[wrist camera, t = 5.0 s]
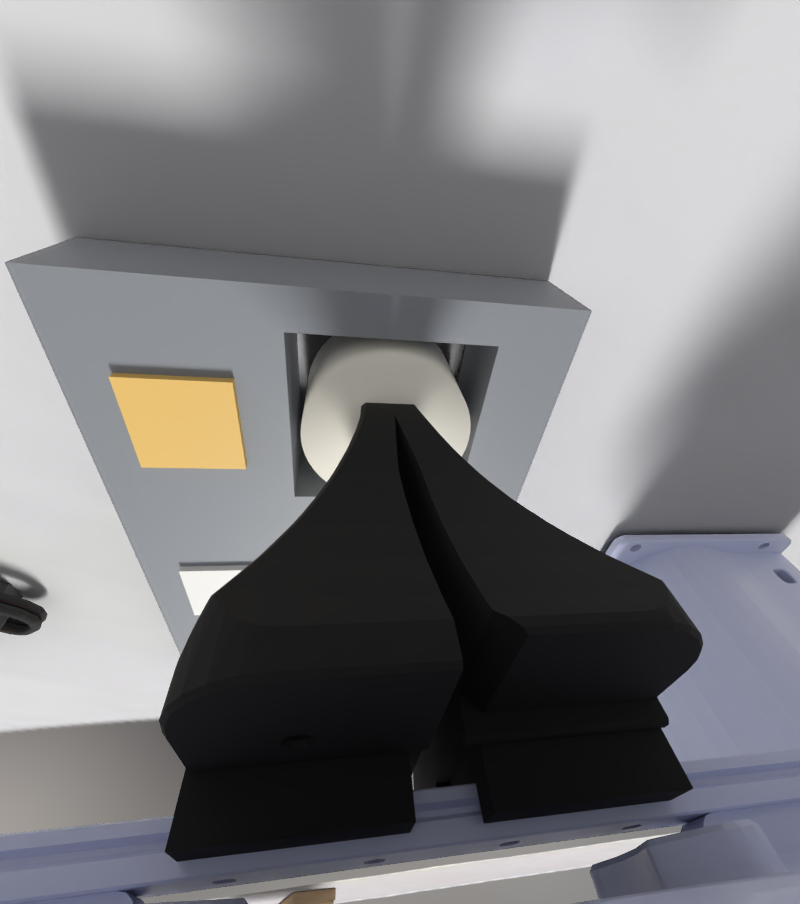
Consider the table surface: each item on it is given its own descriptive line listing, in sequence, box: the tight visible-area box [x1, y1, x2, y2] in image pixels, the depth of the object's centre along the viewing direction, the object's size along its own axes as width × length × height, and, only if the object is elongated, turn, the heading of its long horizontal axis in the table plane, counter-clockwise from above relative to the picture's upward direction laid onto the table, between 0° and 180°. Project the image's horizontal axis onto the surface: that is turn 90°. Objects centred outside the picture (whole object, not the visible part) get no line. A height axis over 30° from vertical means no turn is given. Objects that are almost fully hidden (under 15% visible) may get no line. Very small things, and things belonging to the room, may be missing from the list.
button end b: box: [301, 336, 471, 482], centre depth 11 cm, size 4×4×3 cm
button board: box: [5, 237, 592, 655], centre depth 16 cm, size 12×21×3 cm, turn 173°
